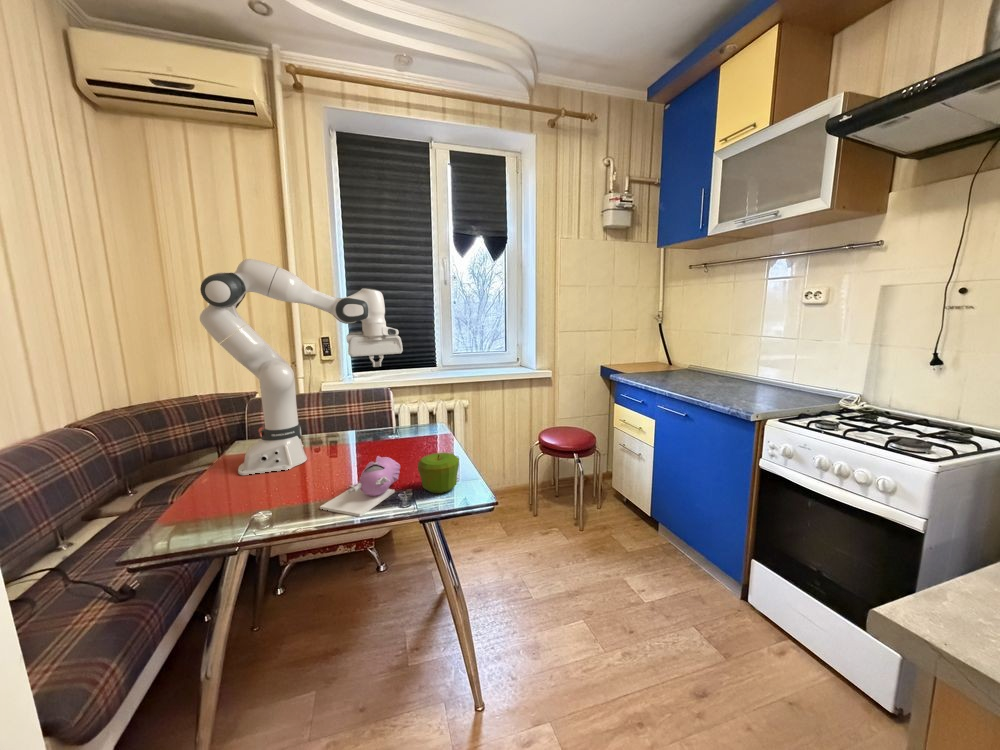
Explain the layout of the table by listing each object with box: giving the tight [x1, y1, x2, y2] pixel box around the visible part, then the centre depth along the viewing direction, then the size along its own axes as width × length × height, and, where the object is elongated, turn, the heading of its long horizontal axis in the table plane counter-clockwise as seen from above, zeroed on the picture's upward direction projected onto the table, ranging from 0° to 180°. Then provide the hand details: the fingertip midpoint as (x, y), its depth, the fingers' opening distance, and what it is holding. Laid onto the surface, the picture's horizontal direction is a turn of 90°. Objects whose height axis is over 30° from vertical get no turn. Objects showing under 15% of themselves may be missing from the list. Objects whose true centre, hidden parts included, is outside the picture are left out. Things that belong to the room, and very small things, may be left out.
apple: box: [417, 452, 460, 494], centre depth 128 cm, size 12×12×11 cm
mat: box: [319, 487, 396, 517], centre depth 122 cm, size 16×14×1 cm
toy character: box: [346, 455, 401, 496], centre depth 125 cm, size 12×10×20 cm
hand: (377, 366), depth 162 cm, fingers closed
